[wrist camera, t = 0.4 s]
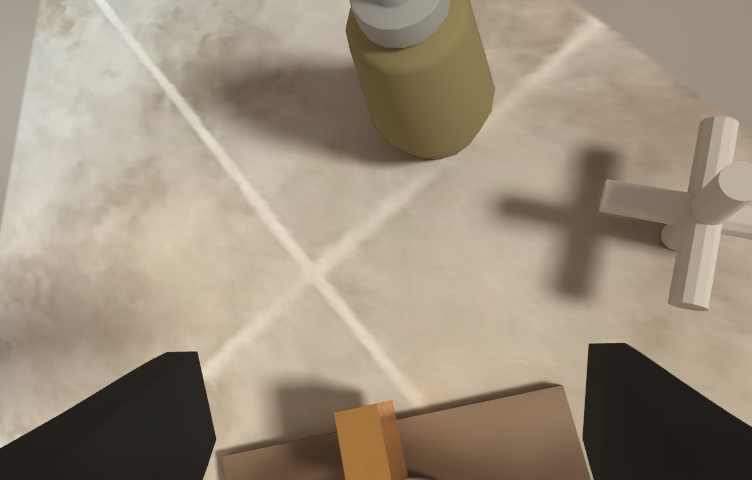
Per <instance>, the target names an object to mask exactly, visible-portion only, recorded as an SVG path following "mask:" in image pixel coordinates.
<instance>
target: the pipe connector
mask: <svg viewBox="0 0 752 480" xmlns="http://www.w3.org/2000/svg"><path fill="white" fill-rule="evenodd" d="M738 126H739V122H738V121H736V120H735V119H733V118H729V117H719V116H714V117H710V118H705V119H704V120H702V121H701V122H700V126H699V131H698V137H697V142H696V148H695V154H694V159H693V165H692V170H691V176H690V182H689V187H688V193H687V192H681V191H675V190H669V189H663V188H656V187H650V186H644V185H638V184H632V183H626V182H620V181H614V180H608V179H606V181H605V184H604V187H603V190H602V194H601V199H600V204H599V212H604V213H610V214H615V215H621V216H626V217H631V218H637V219H642V220H648V221H653V222H659V223H664V224H667V225H666V226H665V227H664V228H663V229H662V232H661V239H662V242H663V243H664V245H665V246H666V247H668V248H669V249H671V250H674V251H677V254H676V260H675V265H674V271H673V277H672V282H671V288H670V293H669V299H668V304H670V305H672V306H675V307H679V308H683V309H689V310H695V311H708V307H709V301H710V295H711V289H712V283H713V277H714V271H715V265H716V259H717V253H718V247H719V241H720V235H721V234H724V235H730V236H735V237H741V238H746V239H752V203H750V202H752V163H750V162H746V161H737V162H733V157H734V151H735V145H736V139H737V133H738Z"/></svg>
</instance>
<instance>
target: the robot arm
mask: <svg viewBox="0 0 752 480" xmlns="http://www.w3.org/2000/svg"><path fill="white" fill-rule="evenodd" d="M215 442H216V436H215V431H214V426H213V422H212V417H211V412H210V408H209V403H208V399H207V394H206V389H205V385H204V380H203V376H202V371H201V366H200V362H199V357H198V352H166V353H164V354H162V355H160V356H158V357H156V358H154V359H152V360H150V361H148V362H147V363H145V364H143V365H141V366H140V367H138V368H136V369H134V370H133V371H131V372H129V373H128V374H126V375H124V376H123V377H121V378H119V379H118V380H116V381H114V382H113V383H111V384H110V385H108V386H106V387H105V388H103V389H101V390H100V391H98V392H96V393H95V394H93V395H91V396H90V397H88V398H87V399H85V400H83V401H82V402H80V403H78V404H77V405H75V406H73V407H72V408H70V409H68V410H67V411H65V412H63V413H62V414H60V415H58V416H56V417H55V418H53V419H51V420H49V421H48V422H46V423H44V424H42V425H41V426H39V427H37V428H35V429H33V430H32V431H30V432H28V433H26V434H25V435H23V436H21V437H19V438H18V439H16V440H14V441H12V442H11V443H9V444H7V445H5V446H4V447H2V448H0V480H203V477H204V474H205V472H206V469H207V466H208V463H209V460H210V457H211V454H212V451H213V448H214V445H215ZM583 442H584V446H585V450H586V453H587V457H588V461H589V465H590V468H591V472H592V475H593V479H594V480H752V427H751V426H749V425H748V424H746V423H744V422H743V421H741V420H740V419H738V418H737V417H735V416H733V415H732V414H730V413H729V412H727V411H726V410H724V409H723V408H721V407H720V406H718V405H716V404H715V403H713V402H712V401H710V400H709V399H707V398H706V397H705V396H703V395H702V394H700V393H699V392H697V391H696V390H694V389H693V388H691V387H690V386H688V385H687V384H685V383H684V382H682V381H681V380H680V379H678V378H677V377H675V376H674V375H672V374H671V373H669V372H668V371H667V370H665V369H664V368H662V367H661V366H659V365H658V364H656V363H655V362H654V361H652V360H651V359H649V358H648V357H646V356H645V355H643V354H642V353H640V352H639V351H637V350H636V349H634V348H633V347H631V346H629V345H628V344H626V343H598V344H589V349H588V364H587V379H586V394H585V409H584V424H583Z"/></svg>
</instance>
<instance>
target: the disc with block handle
mask: <svg viewBox="0 0 752 480" xmlns="http://www.w3.org/2000/svg"><path fill="white" fill-rule="evenodd" d="M334 417H335V422H336V428H337V434H338V440H339V445H340V451H341V457H342V462H343V468H344V474H345V479H346V480H432V479H426V478H420V477H408V473H407V468H406V463H405V458H404V453H403V448H402V444H401V439H400V434H399V429H398V424H397V419H396V415H395V410H394V405H393V400H391V401H386V402H382V403H377V404H372V405H368V406H363V407H358V408H354V409H349V410H344V411H340V412H335V413H334Z"/></svg>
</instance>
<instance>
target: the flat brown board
mask: <svg viewBox="0 0 752 480" xmlns="http://www.w3.org/2000/svg"><path fill="white" fill-rule="evenodd" d="M397 424H398V429H399V434H400V439H401V444H402V448H403V453H404V458H405V463H406V468H407V473H408V477H420V478H426V479H432V480H591V479H590V476H589V472H588V469H587V465H586V462H585V459H584V455H583V452H582V448H581V445H580V442H579V438H578V435H577V432H576V428H575V425H574V421H573V418H572V415H571V411H570V408H569V404H568V401H567V398H566V394H565V391H564V388H563V385H560V386H555V387H550V388H545V389H540V390H536V391H531V392H526V393H521V394H516V395H512V396H507V397H502V398H497V399H493V400H488V401H483V402H478V403H473V404H469V405H464V406H459V407H454V408H449V409H445V410H440V411H435V412H430V413H426V414H421V415H416V416H411V417H406V418H402V419H397ZM222 460H223V468H224V477H225V480H346V479H345V474H344V468H343V462H342V457H341V451H340V445H339V440H338V434H337V432H335V433H330V434H325V435H320V436H316V437H311V438H306V439H301V440H296V441H292V442H287V443H282V444H277V445H272V446H268V447H263V448H258V449H253V450H249V451H244V452H239V453H234V454H229V455H226V456H222Z"/></svg>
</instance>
